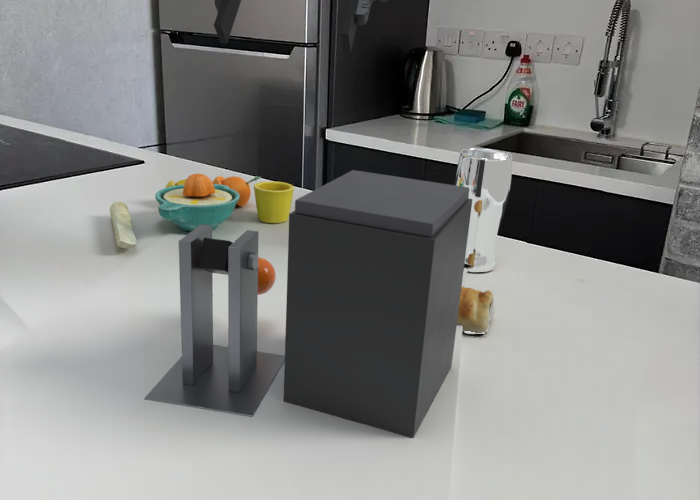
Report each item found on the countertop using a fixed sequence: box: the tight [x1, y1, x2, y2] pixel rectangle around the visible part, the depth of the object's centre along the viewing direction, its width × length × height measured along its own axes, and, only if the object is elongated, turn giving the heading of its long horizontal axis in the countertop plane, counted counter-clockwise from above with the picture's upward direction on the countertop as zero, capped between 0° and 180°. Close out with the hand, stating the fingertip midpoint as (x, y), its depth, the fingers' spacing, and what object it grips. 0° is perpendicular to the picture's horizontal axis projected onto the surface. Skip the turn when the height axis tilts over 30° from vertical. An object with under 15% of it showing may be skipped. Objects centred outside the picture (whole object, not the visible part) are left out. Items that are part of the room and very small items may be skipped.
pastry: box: [457, 285, 495, 333], centre depth 74 cm, size 9×7×4 cm
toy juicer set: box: [109, 173, 295, 249], centre depth 99 cm, size 29×18×8 cm, turn 132°
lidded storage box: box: [283, 169, 472, 439], centre depth 56 cm, size 12×12×18 cm
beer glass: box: [454, 147, 514, 270], centre depth 88 cm, size 7×7×15 cm
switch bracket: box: [144, 225, 285, 418], centre depth 56 cm, size 10×9×14 cm
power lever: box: [199, 238, 277, 296], centre depth 60 cm, size 14×4×4 cm, turn 169°
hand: (282, 39), depth 71 cm, fingers open, 13 cm apart
